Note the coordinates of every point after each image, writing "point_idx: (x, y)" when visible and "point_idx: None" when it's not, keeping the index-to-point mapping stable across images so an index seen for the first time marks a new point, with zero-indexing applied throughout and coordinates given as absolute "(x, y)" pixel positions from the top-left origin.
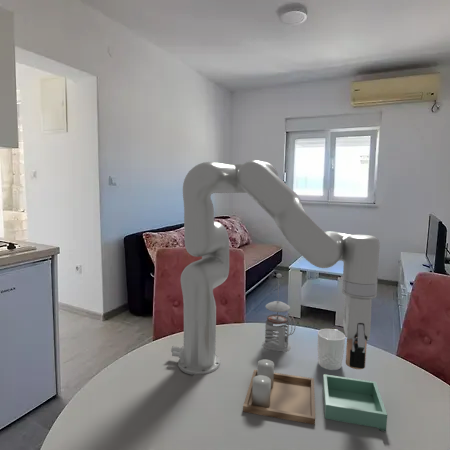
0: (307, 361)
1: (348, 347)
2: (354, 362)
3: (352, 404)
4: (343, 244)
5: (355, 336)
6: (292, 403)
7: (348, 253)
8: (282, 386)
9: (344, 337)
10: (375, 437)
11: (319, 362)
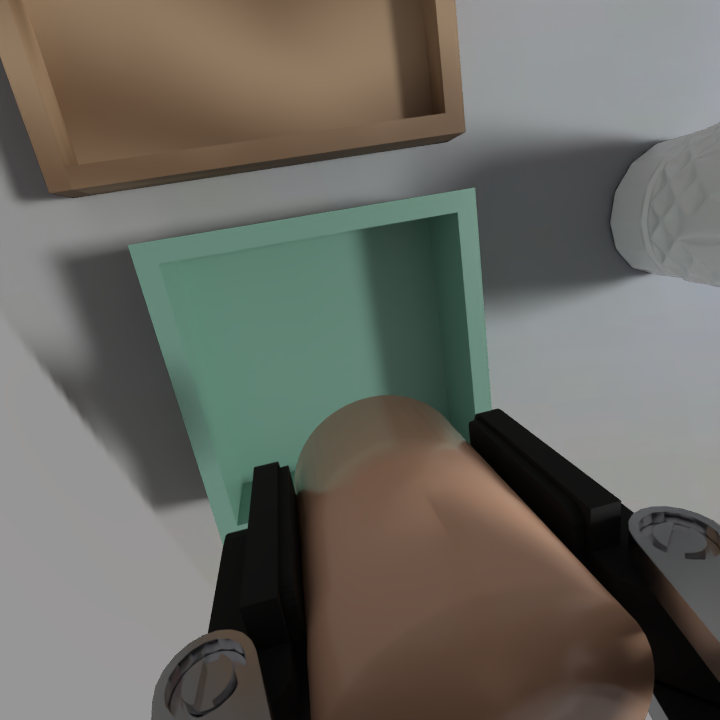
0: (685, 67)
1: (357, 552)
2: (224, 550)
3: (342, 359)
4: None
5: (679, 655)
6: (187, 26)
7: None
8: None
9: None
10: (170, 461)
11: (666, 145)
